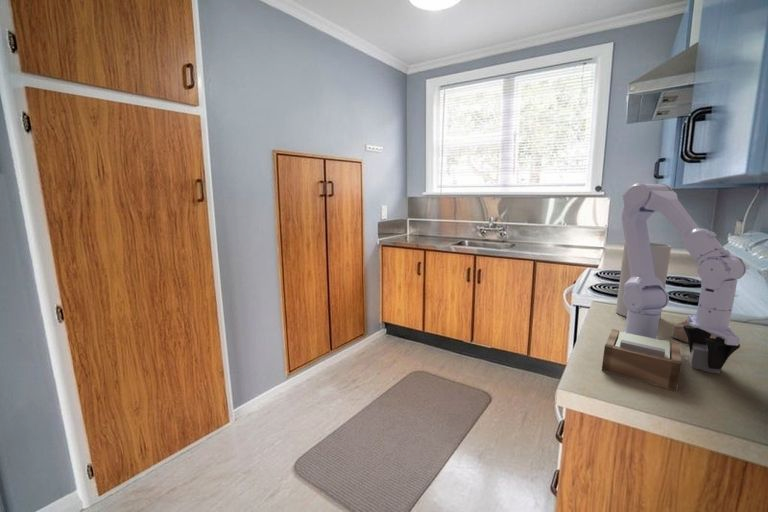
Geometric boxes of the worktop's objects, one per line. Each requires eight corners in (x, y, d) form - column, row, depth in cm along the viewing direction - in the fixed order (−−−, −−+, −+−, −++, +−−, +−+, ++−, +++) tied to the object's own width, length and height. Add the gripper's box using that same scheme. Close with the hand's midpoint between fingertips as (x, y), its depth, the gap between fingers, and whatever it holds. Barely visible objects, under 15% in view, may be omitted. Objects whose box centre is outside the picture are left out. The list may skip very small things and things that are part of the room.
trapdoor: (619, 335, 88) (621, 327, 88) (668, 346, 82) (670, 337, 82) (614, 350, 80) (615, 341, 79) (669, 363, 74) (670, 353, 73)
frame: (609, 350, 91) (612, 329, 90) (675, 366, 82) (679, 342, 81) (601, 370, 80) (604, 346, 79) (676, 390, 72) (681, 364, 71)
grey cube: (689, 360, 85) (692, 342, 85) (717, 367, 82) (720, 348, 82) (690, 367, 82) (694, 348, 81) (719, 374, 79) (723, 354, 78)
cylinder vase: (618, 317, 116) (627, 245, 112) (613, 307, 127) (621, 241, 123) (664, 324, 111) (676, 247, 107) (655, 313, 122) (665, 243, 118)
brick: (689, 328, 108) (691, 314, 108) (725, 336, 102) (728, 321, 101) (671, 340, 99) (673, 324, 98) (710, 350, 92) (712, 334, 91)
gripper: (676, 297, 88) (668, 347, 90) (715, 315, 74) (705, 374, 76) (709, 299, 86) (700, 350, 88) (755, 318, 72) (743, 378, 74)
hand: (705, 361), depth 82 cm, fingers closed on grey cube, 6 cm apart
